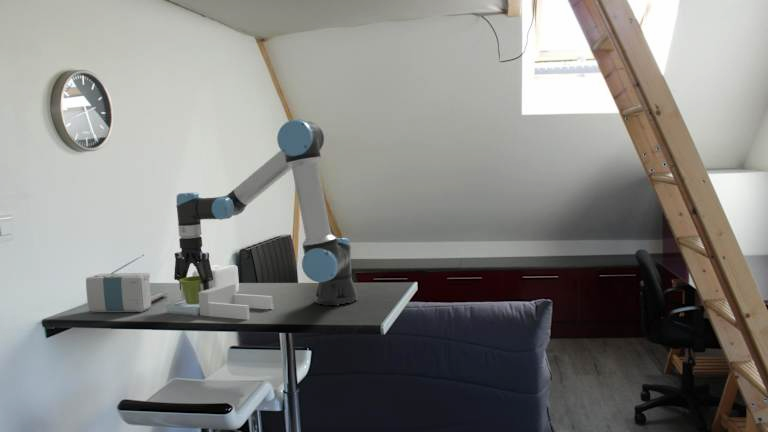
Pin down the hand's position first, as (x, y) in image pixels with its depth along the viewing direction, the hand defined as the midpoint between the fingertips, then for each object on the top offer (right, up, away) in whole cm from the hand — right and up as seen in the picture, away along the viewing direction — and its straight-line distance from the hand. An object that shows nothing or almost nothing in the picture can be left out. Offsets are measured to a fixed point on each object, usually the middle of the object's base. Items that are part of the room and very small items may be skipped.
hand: (195, 300), depth 208 cm
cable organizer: (+2, -2, +20) cm, 21 cm away
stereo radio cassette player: (-28, -5, +3) cm, 28 cm away
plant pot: (0, -1, 0) cm, 1 cm away
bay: (+16, -3, -6) cm, 18 cm away
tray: (0, -3, 0) cm, 3 cm away
